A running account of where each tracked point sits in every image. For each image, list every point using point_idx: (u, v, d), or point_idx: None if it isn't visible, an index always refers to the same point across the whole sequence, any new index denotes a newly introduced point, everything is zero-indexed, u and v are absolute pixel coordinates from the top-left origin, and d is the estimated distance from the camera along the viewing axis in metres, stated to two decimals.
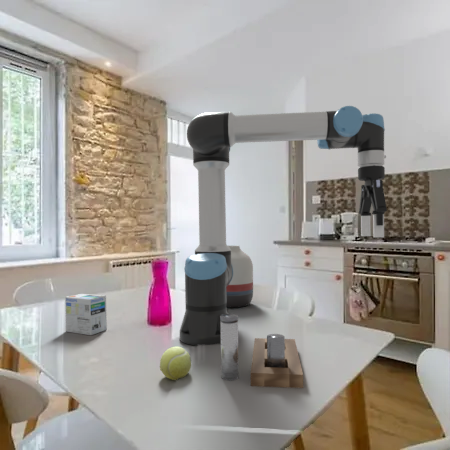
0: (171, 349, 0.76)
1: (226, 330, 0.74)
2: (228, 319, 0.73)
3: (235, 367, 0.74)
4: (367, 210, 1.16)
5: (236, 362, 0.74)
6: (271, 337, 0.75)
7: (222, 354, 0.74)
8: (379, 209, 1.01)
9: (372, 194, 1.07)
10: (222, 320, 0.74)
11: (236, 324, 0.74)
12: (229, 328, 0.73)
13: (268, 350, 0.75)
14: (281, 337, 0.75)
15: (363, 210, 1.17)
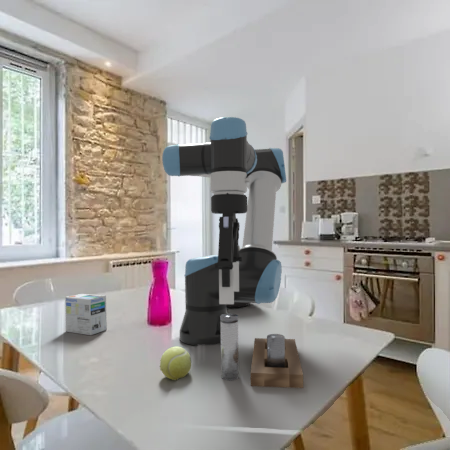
0: (171, 349, 0.76)
1: (226, 330, 0.74)
2: (228, 319, 0.73)
3: (235, 367, 0.74)
4: (234, 255, 0.81)
5: (236, 362, 0.74)
6: (271, 337, 0.75)
7: (222, 354, 0.74)
8: (220, 264, 0.65)
9: None
10: (222, 320, 0.74)
11: (236, 324, 0.74)
12: (229, 328, 0.73)
13: (268, 350, 0.75)
14: (281, 337, 0.75)
15: None
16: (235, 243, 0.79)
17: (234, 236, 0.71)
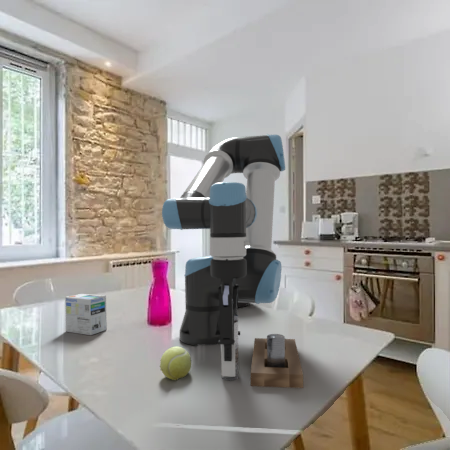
0: (171, 349, 0.76)
1: None
2: None
3: None
4: None
5: (236, 362, 0.74)
6: (271, 337, 0.75)
7: None
8: (222, 341, 0.70)
9: None
10: None
11: (236, 324, 0.74)
12: None
13: (268, 350, 0.75)
14: (281, 337, 0.75)
15: None
16: (234, 309, 0.77)
17: (234, 307, 0.73)
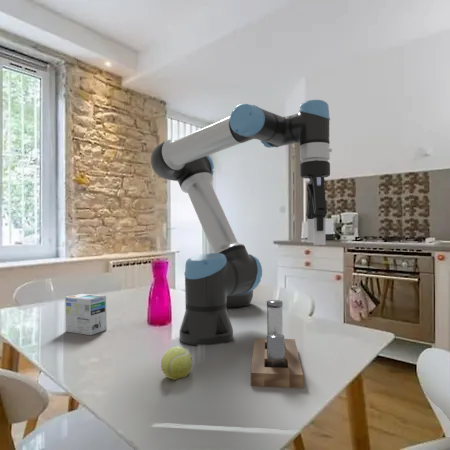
0: (172, 349, 0.76)
1: (272, 314, 0.85)
2: (275, 304, 0.85)
3: None
4: (314, 212, 1.01)
5: None
6: (271, 336, 0.75)
7: None
8: (318, 212, 0.85)
9: (314, 194, 0.91)
10: (269, 305, 0.85)
11: (281, 308, 0.85)
12: (275, 312, 0.85)
13: (268, 350, 0.75)
14: (281, 337, 0.75)
15: (309, 212, 1.01)
16: None
17: None
